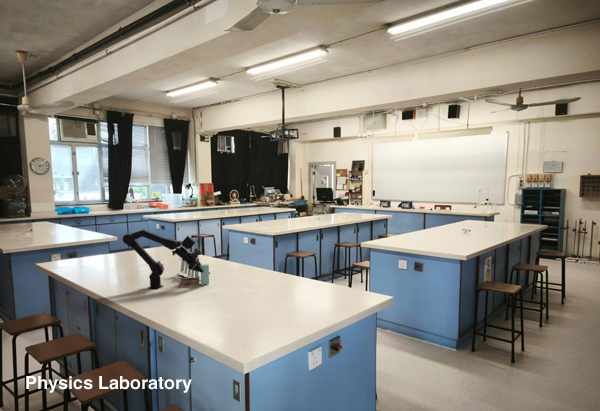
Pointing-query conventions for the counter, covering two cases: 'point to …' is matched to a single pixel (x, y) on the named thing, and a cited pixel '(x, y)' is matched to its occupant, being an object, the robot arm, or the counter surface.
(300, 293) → the counter surface
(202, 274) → the mint green tall box
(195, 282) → the track board
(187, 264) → the test tube rack
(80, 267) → the counter surface
